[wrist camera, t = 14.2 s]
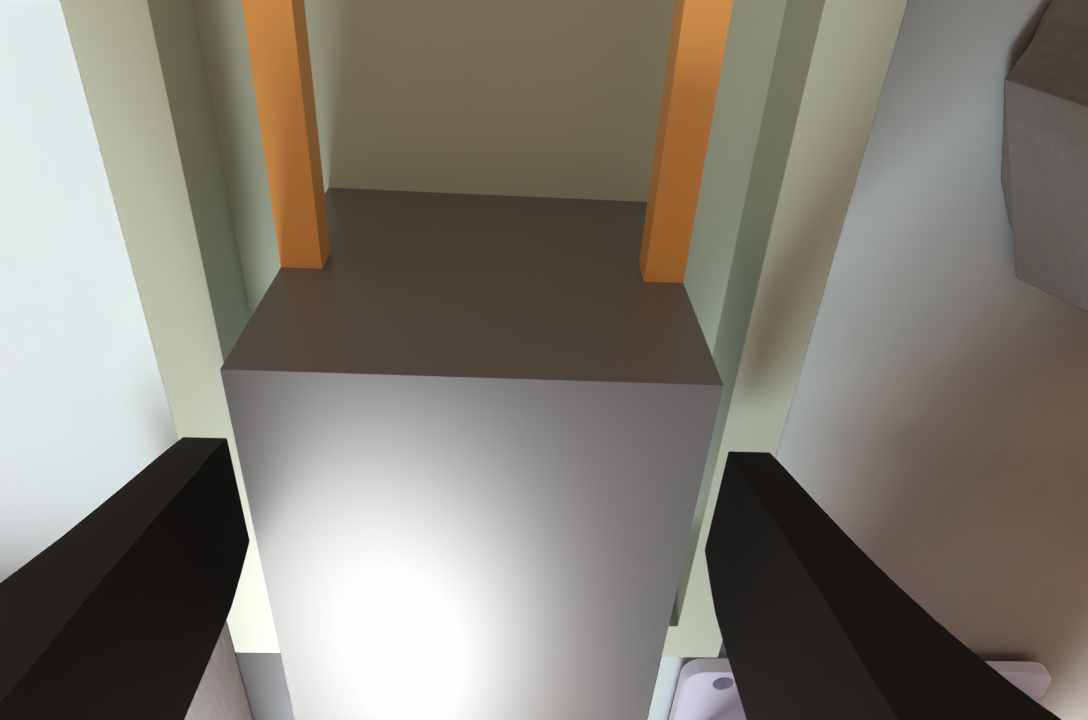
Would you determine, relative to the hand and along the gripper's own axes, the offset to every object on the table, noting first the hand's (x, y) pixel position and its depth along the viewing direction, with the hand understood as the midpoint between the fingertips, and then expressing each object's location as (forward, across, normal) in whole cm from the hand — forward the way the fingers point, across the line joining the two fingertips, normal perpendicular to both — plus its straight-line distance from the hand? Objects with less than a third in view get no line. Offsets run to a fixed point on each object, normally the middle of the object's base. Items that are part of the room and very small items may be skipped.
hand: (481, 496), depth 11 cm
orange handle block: (+3, 0, -3) cm, 4 cm away
